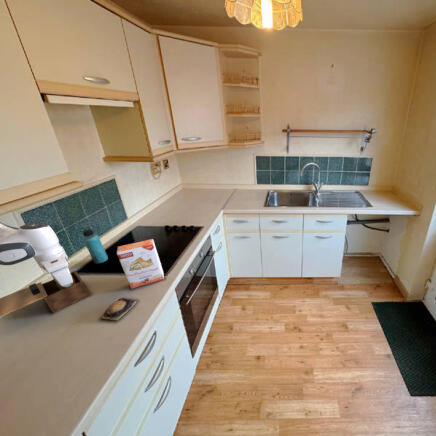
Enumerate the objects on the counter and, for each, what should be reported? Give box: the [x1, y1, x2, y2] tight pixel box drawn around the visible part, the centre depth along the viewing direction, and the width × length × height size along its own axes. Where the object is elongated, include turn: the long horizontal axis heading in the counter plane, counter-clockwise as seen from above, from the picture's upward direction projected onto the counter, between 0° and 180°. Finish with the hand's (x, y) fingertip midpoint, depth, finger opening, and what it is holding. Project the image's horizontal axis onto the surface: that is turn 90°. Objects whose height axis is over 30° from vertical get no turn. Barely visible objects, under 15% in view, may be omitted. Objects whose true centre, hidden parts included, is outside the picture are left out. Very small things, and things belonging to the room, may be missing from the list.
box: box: [42, 270, 91, 314], centre depth 100 cm, size 13×13×8 cm
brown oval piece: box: [101, 297, 137, 322], centre depth 95 cm, size 11×8×4 cm
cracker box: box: [116, 238, 165, 290], centre depth 107 cm, size 14×6×21 cm, turn 119°
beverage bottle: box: [82, 229, 109, 264], centre depth 121 cm, size 6×7×20 cm
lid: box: [0, 281, 48, 318], centre depth 90 cm, size 13×13×3 cm
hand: (67, 284), depth 101 cm, fingers closed on vase, 5 cm apart
